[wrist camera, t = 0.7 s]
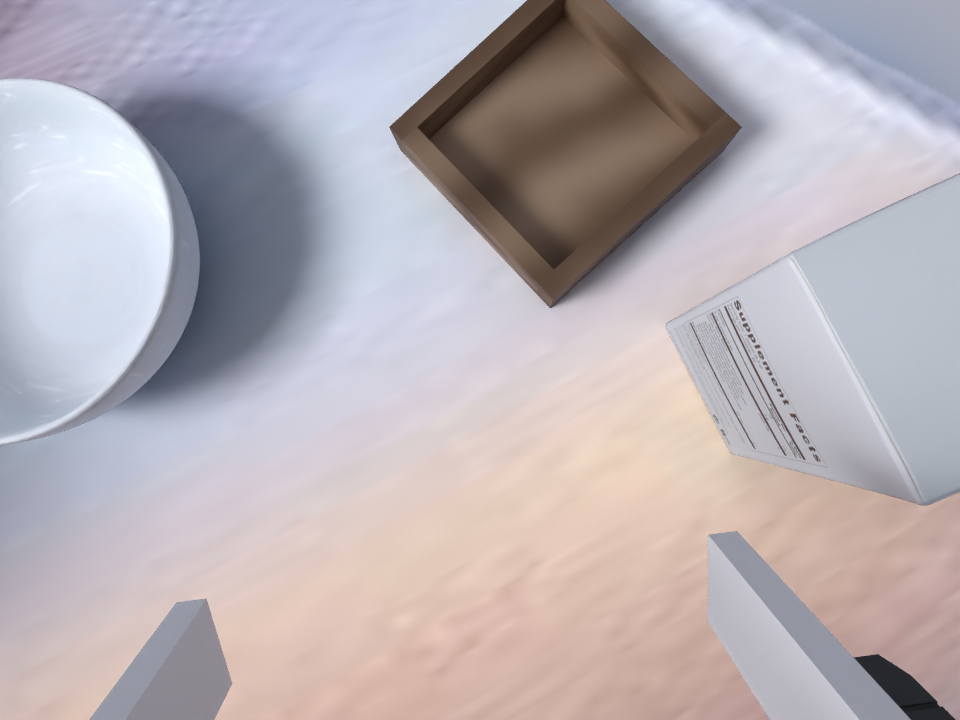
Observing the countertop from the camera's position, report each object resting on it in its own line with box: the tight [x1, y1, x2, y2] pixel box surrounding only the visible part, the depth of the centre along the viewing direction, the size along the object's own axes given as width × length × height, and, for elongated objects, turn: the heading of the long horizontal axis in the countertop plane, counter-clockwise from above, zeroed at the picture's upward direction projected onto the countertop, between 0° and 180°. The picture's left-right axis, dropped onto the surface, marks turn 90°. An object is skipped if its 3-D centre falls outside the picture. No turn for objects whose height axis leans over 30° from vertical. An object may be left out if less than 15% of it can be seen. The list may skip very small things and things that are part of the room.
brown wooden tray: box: [389, 0, 741, 308], centre depth 31 cm, size 14×14×3 cm
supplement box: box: [666, 173, 960, 506], centre depth 22 cm, size 9×9×15 cm
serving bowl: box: [0, 78, 200, 445], centre depth 31 cm, size 21×21×7 cm
